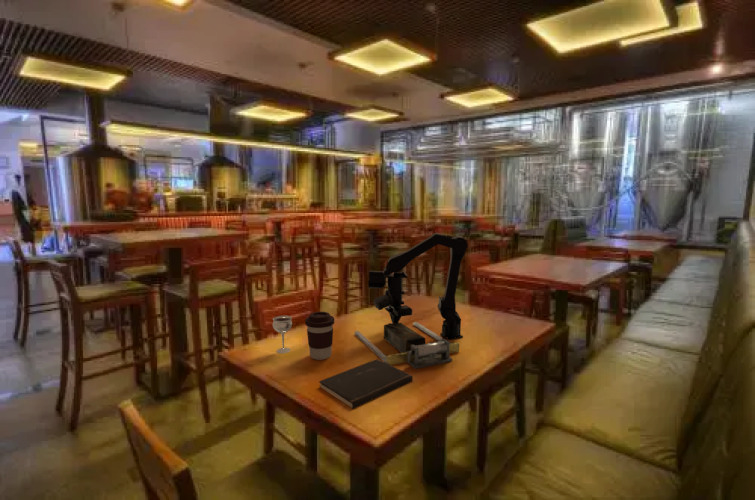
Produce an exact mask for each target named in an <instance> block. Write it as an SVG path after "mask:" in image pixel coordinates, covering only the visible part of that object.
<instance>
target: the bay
mask: <svg viewBox="0 0 755 500" xmlns="http://www.w3.org/2000/svg"><path fill="white" fill-rule="evenodd" d="M412 322H413V321H412ZM412 325H413V326H414V327H416V328H418V330H420V331H422V332H424V333H425V334H427V335H428V336H430V338H432V339H434V340H436V342H438V341H442V339H444V337H443V336H441V335H438V334H437V333H436V332H434V331H432V330H431V329H429V328H427V327H425V326H424V325H422V324H420V323H419V322H418V321H414V322H413V324H412ZM354 335H355V336H356V337H357V338H358V339H359V340H360V341H361V342H362V343H363V344H365V346H366V347H367V348H368V349H369V350H371V351H372V352H373V353H374V354H375V355H376V356H377V357H378V358H379V360H381V361H383V362H385V363H387V364H389V365H391V366H394V365H399V364H404V363H407V362H406V352H404V353H401V352H400V353H394V354H389V355H386V354H385V353H384V352H382V351H381V350H380V349H379V348H378V347H377V346H375V344H374V343H372V342H371V341H370V340H369V339H368V338H367V337H366V336H365V335H363V334H362V333H361V332H360V331H359V330H356V331H354ZM459 352H460V343H459V342H452V343H451V342H450V345H449V354H453V353H454V354H455V353H459Z"/></svg>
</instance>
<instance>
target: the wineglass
mask: <svg viewBox="0 0 755 500" xmlns="http://www.w3.org/2000/svg"><path fill="white" fill-rule="evenodd" d="M292 319H293V317H292V316H290V315H285V314H284V315H278V316H274V317H273V318H272V320H273V322H272V328H273V329H274V330H275V331H276V332H277V333H279V334H281V340H282V341H281V343H282V347H281V348H278V349H276V353H277V354H286V353H289V352H291V348H289V347H285V334H286V333H288V332H289V331H290V330H291V328H292V325H293V322H292Z"/></svg>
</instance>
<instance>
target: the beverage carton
mask: <svg viewBox="0 0 755 500" xmlns="http://www.w3.org/2000/svg"><path fill="white" fill-rule="evenodd" d="M383 340H385V341H386V342H387V343H389V345H391V346H392V347H394V348H395V350H398V352H400V353H404V352H407V351H411V345H415V346H417V345H422V344H426V337H425V336H423V335H421V334H419V333H418V332H416V331H414V330H413V329H412V328H409V327H408V326H406V325H405V324H404V323H403V322H398V323H394V324H392V322H390V323H386V324H384V325H383Z"/></svg>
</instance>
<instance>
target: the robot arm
mask: <svg viewBox="0 0 755 500" xmlns="http://www.w3.org/2000/svg"><path fill="white" fill-rule="evenodd" d="M468 245H469V243H468V241H467V239H466V238H464V237H463V236H461V235H454V236H452V235H446V234H441V233H438V232H435V233H432V235H430V236H428V237H427V238H425V239H424V240H422V241H421V242H418V243H417V244H415V245H414V246H412V247H410V248H409V249H407V250H405V251H402V252H400V253H396V254H394V255H391V256H390V257H389V258H388V260H387V265H386V266H385V267H384V268H383V270H369V271H368V281H367V282H368V289H384V287H386V286H387V289H386V290H385V291H384V294H382V295H379V296H378V297H376V298H374V299H372V301H373V304H374V307H375V308H376V309H377V310H379V311H381V310H383V309H384V310H385V311H387V312H388V313H389V317H390V319H391V323H392V324H394V323H400V321H401V318H402V317H407V316H412V315H413V309H412V308H411V307H410V306H408V305H406V304H405V301H404V300H403V295H405V291H404V290H403V279H405V278H406V279H407V278H408V274H407V273H406V272H405V271H404V270H403V269H404V268H406V266H408V264H409V263H410V262H412V261H413V260H414V259H415V258H418V257H419V256H421V255H422V254H424V253H426V252H427V251H429V250H431V249H432V248H434V247H436V246H443V247H445V248H446V247H447V248H449V255H450V259H449V265H448V271H447V278H446V283H445V289H444V293H443V296H438V303H437V309H438V311H439V314H440V316H441V318H442V319H444V320H443V321H442V325H441V332H440V334H439V335H440V336H441V337H443V338H444V339H445V338H446V340H448V341H449V340H450V341H451V340H455V339H460V338H461V339H462V338H463V336H464V335H462V334H461V330H462V329H461V328H462V327H461V326H462V324H461V323H462V318H461V316H460V315H459V313H458V311H457V310H456V309H457V306H456V292H457V287H458V281H459V275H460V269H461V263H462V260H463V258H464V257H465V254H466V253H467V250H468V249H467V248H468Z"/></svg>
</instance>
